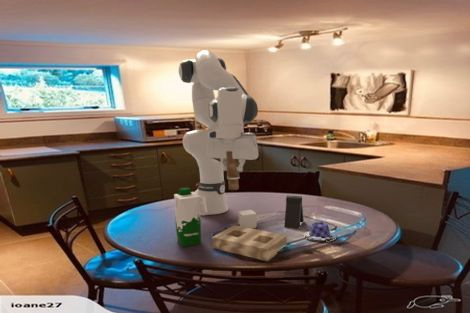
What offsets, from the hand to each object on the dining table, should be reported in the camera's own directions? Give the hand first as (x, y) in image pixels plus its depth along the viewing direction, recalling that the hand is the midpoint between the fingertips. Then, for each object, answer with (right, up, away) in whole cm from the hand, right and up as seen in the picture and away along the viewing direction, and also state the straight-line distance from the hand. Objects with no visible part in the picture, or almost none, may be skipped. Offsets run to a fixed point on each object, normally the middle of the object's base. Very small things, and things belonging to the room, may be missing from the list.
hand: (233, 171), depth 128 cm
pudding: (+32, -25, +5) cm, 41 cm away
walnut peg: (0, -7, +1) cm, 7 cm away
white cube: (+6, -24, +19) cm, 31 cm away
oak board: (+6, -27, -3) cm, 28 cm away
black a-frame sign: (+25, -23, +19) cm, 39 cm away
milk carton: (-16, -27, +4) cm, 32 cm away
